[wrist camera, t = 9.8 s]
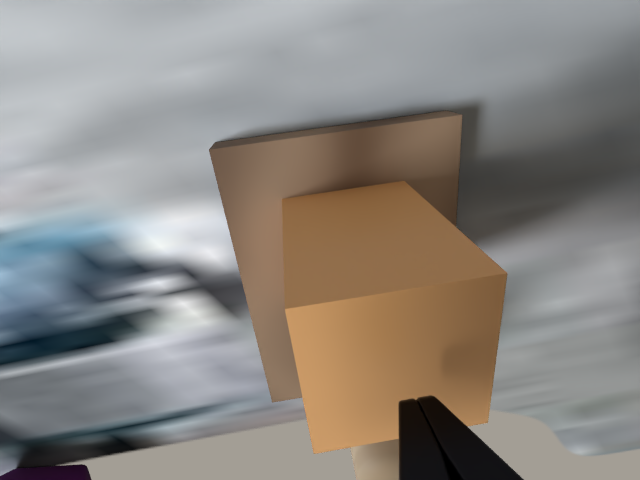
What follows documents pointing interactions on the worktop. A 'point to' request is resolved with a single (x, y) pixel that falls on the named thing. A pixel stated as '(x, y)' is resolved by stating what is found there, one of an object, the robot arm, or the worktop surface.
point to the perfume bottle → (49, 473)
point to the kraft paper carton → (386, 311)
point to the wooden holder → (312, 178)
